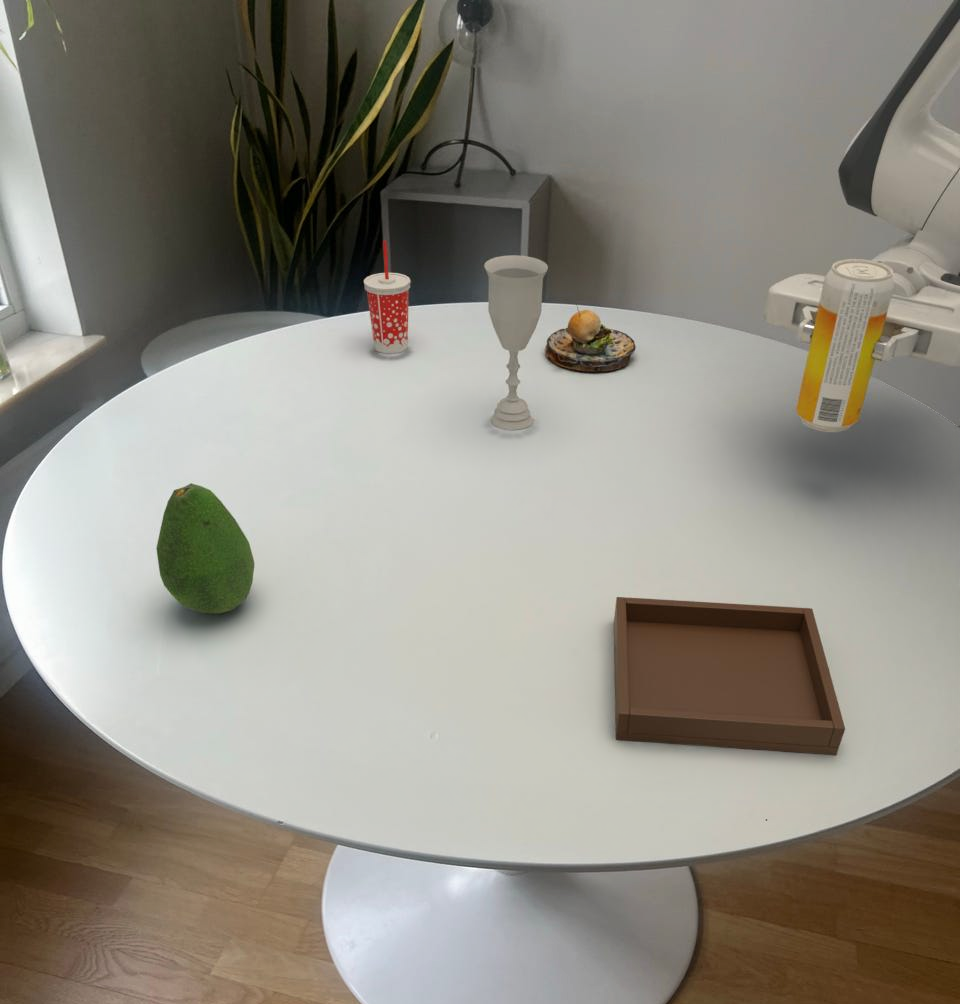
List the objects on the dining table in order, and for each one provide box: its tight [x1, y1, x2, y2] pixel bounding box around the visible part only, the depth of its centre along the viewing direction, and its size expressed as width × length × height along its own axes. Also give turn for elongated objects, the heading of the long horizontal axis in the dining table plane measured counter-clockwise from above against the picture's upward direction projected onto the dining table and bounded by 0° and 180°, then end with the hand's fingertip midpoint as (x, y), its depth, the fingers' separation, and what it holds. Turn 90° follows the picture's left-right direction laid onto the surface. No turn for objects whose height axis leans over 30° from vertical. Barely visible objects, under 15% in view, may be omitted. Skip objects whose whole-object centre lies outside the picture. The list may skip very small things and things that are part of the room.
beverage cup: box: [363, 239, 412, 355], centre depth 127 cm, size 6×6×14 cm
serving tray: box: [613, 596, 846, 756], centre depth 78 cm, size 17×15×3 cm
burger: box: [545, 303, 637, 373], centre depth 127 cm, size 12×12×8 cm
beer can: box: [795, 258, 894, 433], centre depth 92 cm, size 6×6×15 cm
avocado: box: [156, 483, 255, 615], centre depth 83 cm, size 8×8×12 cm
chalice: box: [483, 254, 549, 431], centre depth 109 cm, size 7×7×18 cm
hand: (842, 343), depth 91 cm, fingers closed on beer can, 6 cm apart
